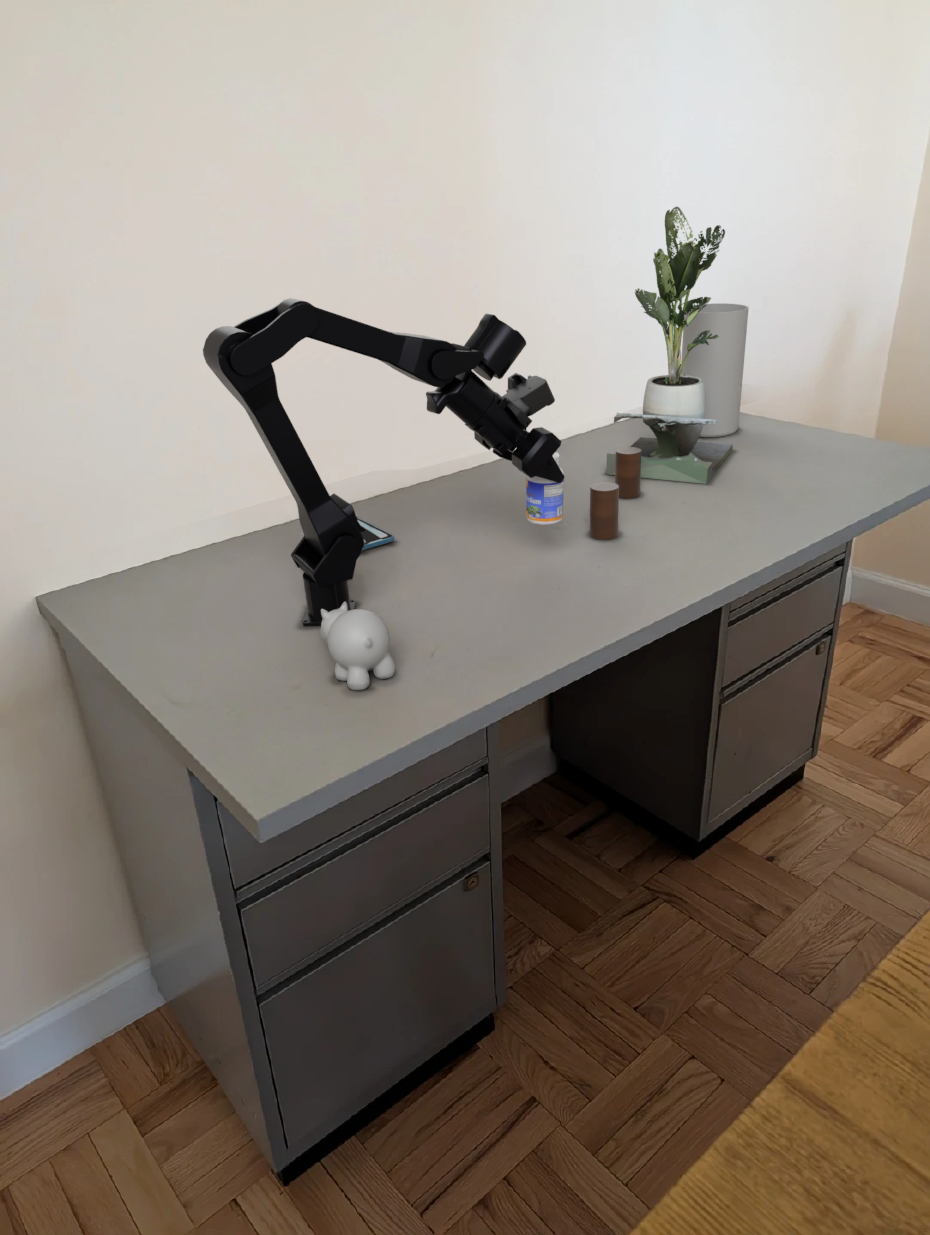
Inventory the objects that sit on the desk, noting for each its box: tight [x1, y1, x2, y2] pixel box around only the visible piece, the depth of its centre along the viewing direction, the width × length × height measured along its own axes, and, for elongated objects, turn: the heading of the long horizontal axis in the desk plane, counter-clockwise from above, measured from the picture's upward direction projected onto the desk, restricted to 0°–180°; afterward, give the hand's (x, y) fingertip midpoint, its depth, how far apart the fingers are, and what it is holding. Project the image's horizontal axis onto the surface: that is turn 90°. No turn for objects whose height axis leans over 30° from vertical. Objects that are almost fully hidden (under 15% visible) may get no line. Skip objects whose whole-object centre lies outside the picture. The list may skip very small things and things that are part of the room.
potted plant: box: [606, 206, 734, 485], centre depth 163 cm, size 22×19×45 cm
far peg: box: [614, 446, 641, 500], centre depth 156 cm, size 4×4×8 cm
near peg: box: [589, 481, 620, 541], centre depth 140 cm, size 4×4×8 cm
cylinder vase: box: [680, 303, 749, 438], centre depth 186 cm, size 12×12×25 cm
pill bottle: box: [525, 451, 565, 526], centre depth 129 cm, size 5×5×10 cm
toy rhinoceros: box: [319, 601, 396, 691], centre depth 105 cm, size 7×12×8 cm, turn 34°
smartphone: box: [356, 516, 395, 551], centre depth 147 cm, size 7×1×15 cm
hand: (553, 474), depth 128 cm, fingers closed on pill bottle, 5 cm apart
